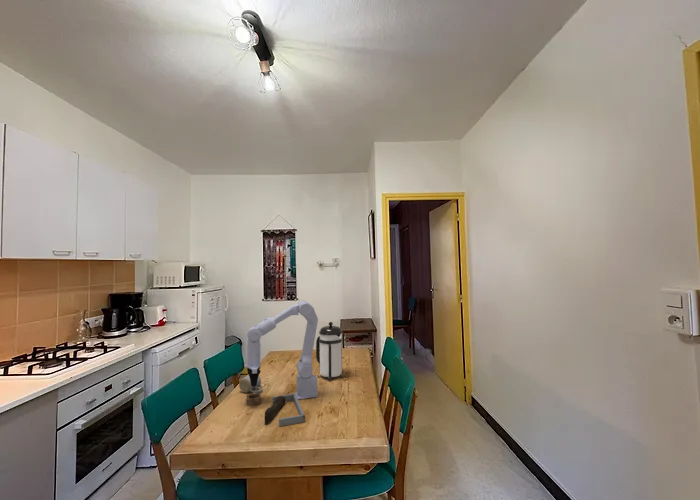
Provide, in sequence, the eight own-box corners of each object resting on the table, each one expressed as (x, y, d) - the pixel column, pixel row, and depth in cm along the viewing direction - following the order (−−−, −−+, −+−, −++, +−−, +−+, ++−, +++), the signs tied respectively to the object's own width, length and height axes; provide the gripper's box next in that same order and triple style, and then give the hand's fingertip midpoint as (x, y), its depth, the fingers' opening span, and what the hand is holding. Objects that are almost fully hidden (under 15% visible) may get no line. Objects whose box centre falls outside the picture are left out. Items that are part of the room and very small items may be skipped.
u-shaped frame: (294, 399, 146) (294, 393, 146) (305, 421, 125) (305, 415, 125) (272, 402, 143) (272, 396, 143) (279, 426, 121) (279, 419, 121)
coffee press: (346, 372, 183) (345, 319, 185) (342, 382, 167) (342, 324, 169) (316, 371, 185) (316, 319, 187) (310, 381, 169) (310, 324, 171)
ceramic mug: (237, 392, 155) (238, 376, 155) (249, 386, 162) (249, 371, 162) (255, 396, 150) (255, 379, 151) (266, 390, 158) (266, 374, 158)
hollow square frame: (259, 398, 147) (260, 392, 147) (260, 403, 142) (261, 397, 142) (246, 400, 145) (246, 394, 145) (246, 405, 140) (246, 399, 140)
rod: (256, 388, 145) (256, 372, 146) (256, 390, 143) (256, 374, 143) (250, 389, 145) (250, 373, 145) (250, 391, 142) (250, 375, 142)
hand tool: (277, 404, 141) (277, 393, 142) (285, 404, 141) (285, 394, 141) (258, 425, 123) (258, 413, 123) (268, 426, 122) (268, 413, 122)
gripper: (244, 351, 150) (243, 380, 149) (245, 359, 136) (244, 392, 136) (259, 349, 152) (259, 378, 152) (262, 357, 139) (261, 389, 138)
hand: (253, 384), depth 144 cm, fingers closed on rod, 3 cm apart
